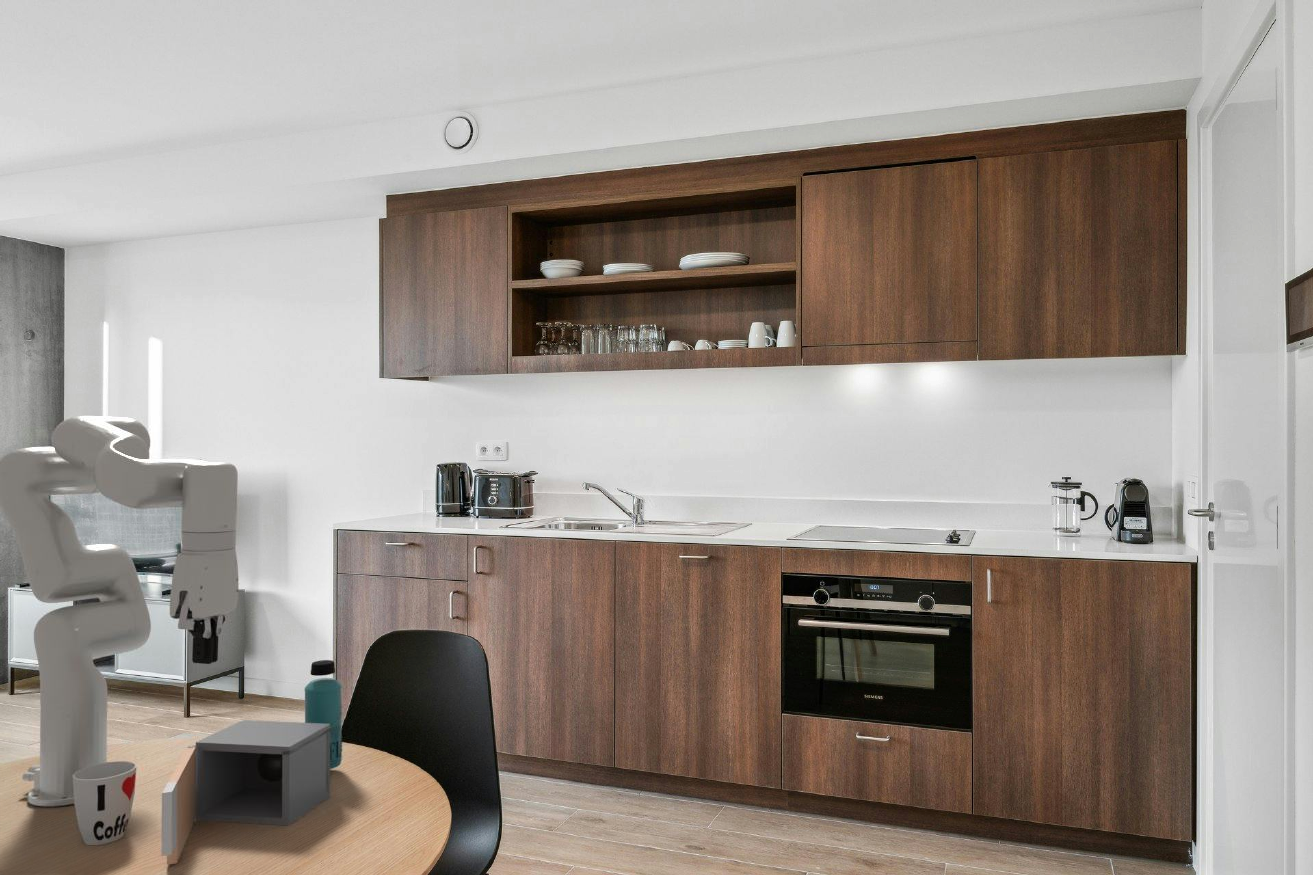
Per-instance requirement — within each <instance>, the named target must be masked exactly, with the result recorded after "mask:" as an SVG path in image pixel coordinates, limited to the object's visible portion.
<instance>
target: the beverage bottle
mask: <svg viewBox="0 0 1313 875" xmlns="http://www.w3.org/2000/svg"><path fill="white" fill-rule="evenodd" d="M335 673H336V667H335V661H334V660H331V659H323V660H322V659H321V660H316V661H313V662H312V663H311V665H310V675H312V676H317V677H321V676H328V675H334V674H335ZM342 708H343V703H342V683H340V682H339V681H338V680H337V679H336V678H334V677H321V678H315V679H312V680H311V681H309V683H308V684H306V685H305V687H304V723H321V724H330V770H331V769H332V770H333V769H335V768H338V767H339V766H340V765H341V763H342V759H343V754H342V753H343V738H342V734H343V733H342V730H343V728H342V718H343V716H342V715H343V714H342V713H343V709H342Z"/></svg>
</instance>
